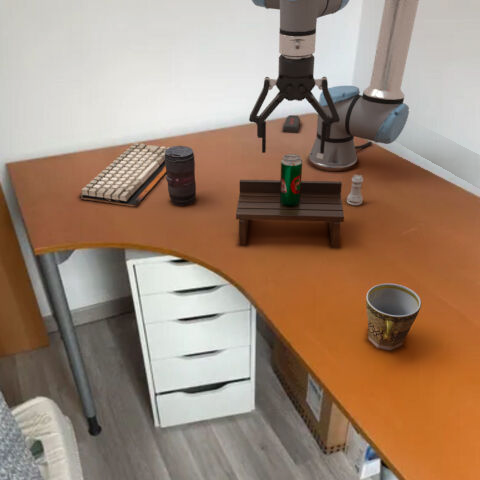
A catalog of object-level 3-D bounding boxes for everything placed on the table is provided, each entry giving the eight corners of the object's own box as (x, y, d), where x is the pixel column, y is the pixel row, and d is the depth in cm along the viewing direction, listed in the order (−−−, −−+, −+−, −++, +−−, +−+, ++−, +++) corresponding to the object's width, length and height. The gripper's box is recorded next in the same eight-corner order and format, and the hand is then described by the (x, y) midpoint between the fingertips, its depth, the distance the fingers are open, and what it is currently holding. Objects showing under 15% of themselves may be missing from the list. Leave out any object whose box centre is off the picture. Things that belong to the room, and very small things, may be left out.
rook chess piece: (364, 200, 149) (367, 174, 144) (360, 207, 146) (363, 181, 141) (348, 197, 151) (352, 171, 146) (344, 204, 147) (347, 178, 143)
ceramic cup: (362, 318, 109) (369, 279, 103) (412, 326, 106) (422, 287, 100) (355, 361, 99) (361, 321, 93) (409, 372, 97) (420, 331, 91)
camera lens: (193, 208, 147) (189, 157, 138) (165, 205, 149) (159, 155, 139) (200, 195, 153) (197, 145, 144) (174, 192, 155) (169, 144, 146)
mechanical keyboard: (136, 207, 148) (134, 196, 146) (76, 200, 153) (74, 189, 151) (183, 155, 177) (182, 145, 175) (132, 150, 181) (130, 140, 179)
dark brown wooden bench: (240, 217, 143) (240, 178, 136) (337, 219, 141) (341, 180, 134) (236, 245, 132) (235, 204, 125) (340, 248, 130) (345, 206, 123)
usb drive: (283, 131, 191) (283, 124, 190) (287, 120, 201) (287, 113, 199) (297, 132, 191) (297, 125, 189) (300, 121, 200) (301, 113, 198)
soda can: (278, 198, 133) (279, 153, 126) (298, 197, 133) (300, 152, 126) (281, 208, 129) (282, 162, 122) (301, 207, 129) (304, 161, 122)
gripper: (236, 59, 108) (238, 156, 121) (358, 59, 106) (347, 157, 120) (238, 50, 114) (241, 144, 127) (355, 49, 112) (345, 144, 125)
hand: (292, 150), depth 123 cm, fingers open, 13 cm apart
